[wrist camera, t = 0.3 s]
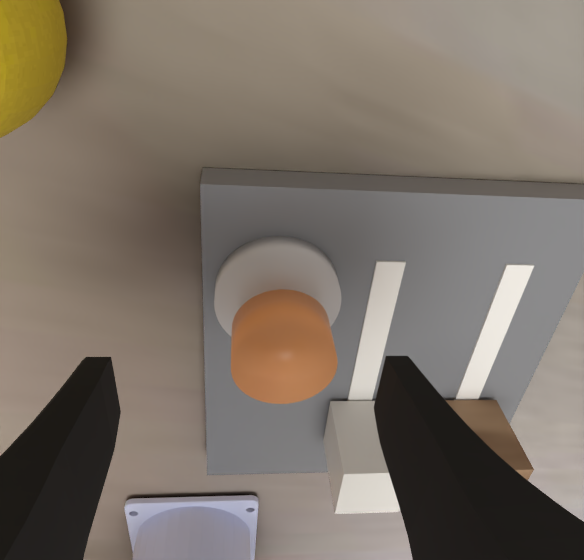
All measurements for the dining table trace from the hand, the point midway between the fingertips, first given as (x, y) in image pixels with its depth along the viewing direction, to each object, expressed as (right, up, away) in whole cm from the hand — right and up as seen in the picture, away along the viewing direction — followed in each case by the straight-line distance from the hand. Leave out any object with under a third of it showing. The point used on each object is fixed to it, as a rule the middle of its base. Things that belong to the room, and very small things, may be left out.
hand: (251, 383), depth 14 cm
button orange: (+1, +1, +5) cm, 5 cm away
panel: (+5, 0, +11) cm, 12 cm away
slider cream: (+4, -4, +12) cm, 14 cm away
